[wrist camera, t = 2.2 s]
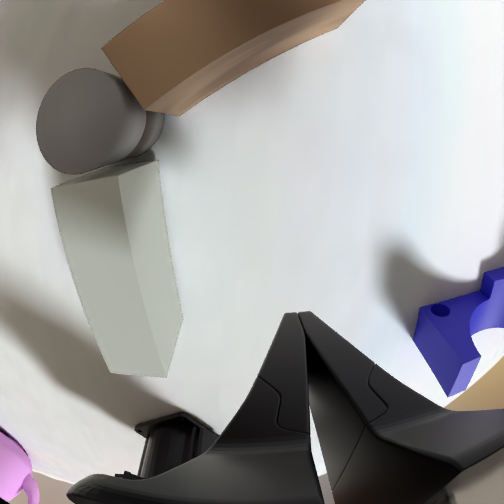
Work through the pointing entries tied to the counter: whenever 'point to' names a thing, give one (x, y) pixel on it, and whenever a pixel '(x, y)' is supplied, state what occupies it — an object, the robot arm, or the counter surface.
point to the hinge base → (209, 48)
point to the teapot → (16, 472)
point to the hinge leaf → (112, 220)
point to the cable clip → (459, 331)
